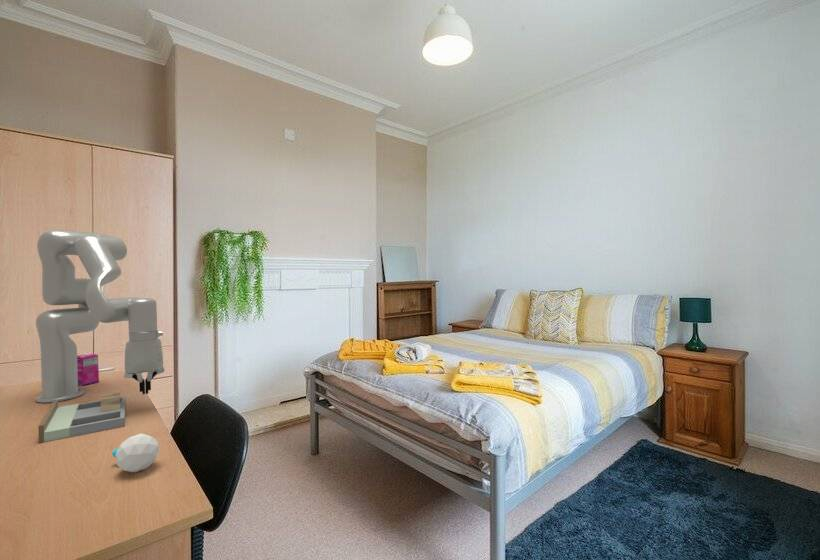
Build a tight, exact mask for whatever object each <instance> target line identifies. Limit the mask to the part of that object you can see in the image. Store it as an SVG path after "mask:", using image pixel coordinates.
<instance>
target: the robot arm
mask: <svg viewBox="0 0 820 560" xmlns="http://www.w3.org/2000/svg"><path fill="white" fill-rule="evenodd" d="M36 250H37V253H38V256H39V260H40V262H41V267H42V271H41V273H42V275H41V280H42V281H41V285H42V286H41V287H42V290H41V292H42V299H43V301H44V303H45V304H46V305H50V306H69V305H78V307H71V308H70V307H68V308H67V307H66V308H57V309H49V310H46V311H44V312H41V313H39V314H38V315H37V317H36V319H35V326H36V331H37V334H38V340H39V344H40V345H39V346H40V369H41V370H40V375H41V376H40V377H41V393H40V394H38V396H36V397H35V402H37V403H39V404H40V403H42V404H44V403H46V404H47V403H53V401H58V402H62V401H67V400H71V399H75V398H77V397H80V396H82V395H83V394H84V389H82V388H79V385H78V369H77V356H78V345H77V344H76V343H75V341H74V340H73V339H72V338H71V337H70V336H71V335H75V334H83V333H84V334H85V333H89V332H92V331H94V330H96V329H97V328H98V327H99V324H100V323H104V324H110V323H117V322H128V339H129V340H128V341H126V343H125V349H124V375H123V378H124V379H133V380H134V381H137V382H138V383H139V393H141V392H142V393H141V394H142V395H148V394H149V391H152V385H151V384H152V382H151V381H152V380H153V378H155V377H156V376H157V375H160V374H162V373H164V372H165V367H164V354H163V353H164V352H163V345H162V342H161V339H160V338H159V337H160V336H161V337H162V336H163V331H159V330H158V316H157V315H158V314H157V313H158V311H157V308H158V307H157V301H156V300H155V299H154V298H140V297H119V298H117V297H116V298H107V297H106V296H105V294H104V293H103V290H102V287H103V286H105V285H107V284H109V283H112V282H114V281H115V280H117V279H118V278H119V277H120V276H121V274H122V269H121V267H120V266H119V263H118V261H122V260H123V259H125V258H126V256H127V254H128V253H127V252H128V247H127V245H126V243H125V242H124V241H123V240H122V239H120V238H119V237H116V236H111V235H107V234H102V233H97V232H96V233H95V232H86V231H85V232H84V231H75V230H63V229H62V230H61V229H55V230H54V229H53V230H52V229H51V230H46V231H45V232H43V233H41V235H40V236H39V238H38V240H37V245H36ZM69 256H78V258H79V260H80V261H81V263H82V266H83V268H85V271H86V272H87V274H88V277H89V278H87V277H86V278H76V266H75V264H74V263H73V261H72V260H71V259H70V257H69ZM143 373H147V374H146V375H147V376H146V377H145V379H144V378H143Z"/></svg>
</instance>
